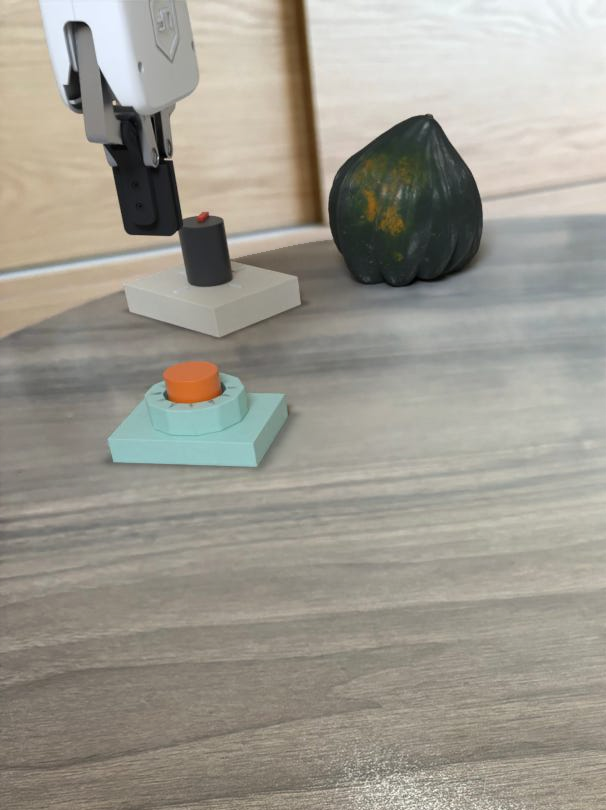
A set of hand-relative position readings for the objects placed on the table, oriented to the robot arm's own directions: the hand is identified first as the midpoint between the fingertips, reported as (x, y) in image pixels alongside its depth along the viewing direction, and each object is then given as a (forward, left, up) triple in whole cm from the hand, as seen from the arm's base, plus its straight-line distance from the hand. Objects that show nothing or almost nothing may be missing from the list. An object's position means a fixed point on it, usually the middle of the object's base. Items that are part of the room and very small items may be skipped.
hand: (154, 231), depth 64 cm
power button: (0, 0, -11) cm, 11 cm away
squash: (-12, +37, -15) cm, 42 cm away
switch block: (0, 0, -14) cm, 14 cm away
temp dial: (-20, +19, -11) cm, 30 cm away
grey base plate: (-20, +19, -14) cm, 31 cm away
